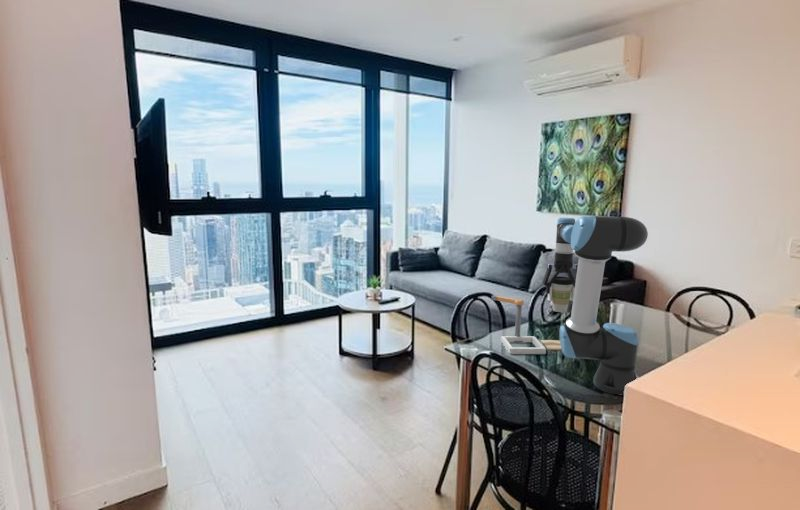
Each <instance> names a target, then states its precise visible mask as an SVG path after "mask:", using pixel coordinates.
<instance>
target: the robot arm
mask: <svg viewBox="0 0 800 510" xmlns="http://www.w3.org/2000/svg"><path fill="white" fill-rule="evenodd" d="M648 235H649V233H648V229H647V227H646V225H645V223H643V222H641V221H640V220H638V219H636V218H633V217H628V216H605V215H602V216H601V215H600V216H599V215H598V216H597V215H588V216H587V215H586V216H584V215H583V216H580V217H578V218H577V220H576V219H575V218H573V217H559V218H558V219H557V224H556V238H555V248H554V249H555V253H554V262H553V263H547V264H546V267H547V269H546V272H545V274H544V277H543V280H542V285H543V286H545V287H546V288H545V293H546V294H547V298H546V299H547V301H549V302H552V286H551V285H552V283H553V281H554V279H555V278H556V277H557V276H558V275H559V274H563V273H564V274H567V277H569V278H570V279H572V281H573V284H572V288H571V289H572V290H571V295H570V300H569V301H572V307H571V314H570V317H568V318H567V319H566V320H565V324H564V325H560V326H559V340H560V344H561V349H562V351H561V352H562V354H563V356H565V357H566V358H571V359H583V360H584V359H586V360H597V361H598V360H599V366H598V368H597V370H596V371H595V374H594V376H593V385H594V386H595V388H597V389H598V390H600V391H602V392H605V393H608V394H610V395H614V394H622V395H623V391H624V386H625V385H626V384H627V383H629V382H631V381H633V380H635V379H636V378H637V379H638V377H637V373H636V363H637V354H638V345H639V339H638V338H639V334H638V332H637V331H636V330H634V329H633V328H631V327H628V326H626V325H623V324H618V323H614V322H605V323H604V324H603V325H602V327H600V324H599V323H598V322H597V317H598V310H599V304H600V298H601V291H602V286H603V280H604V279H603V278H604V272H605V266H606V262H608V261H609V260H611V259H612V253H613V252H617V253H618V252H631V251H634V250H637V249H639V248H641V247H642V246H643V245H645V244H646V242H647V239H648V237H649V236H648ZM573 253H574V254H573ZM574 255H575V256H576V257H577V258H578V260H577V261H578V262H577V263H573V261H574V260H573V257H574ZM553 268H554V270H553ZM572 268H573V272H572V270H571V269H572ZM552 270H553V273H552ZM551 273H552V274H551ZM573 273H574V276H573Z"/></svg>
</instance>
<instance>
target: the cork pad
mask: <svg viewBox="0 0 800 510" xmlns="http://www.w3.org/2000/svg"><path fill="white" fill-rule="evenodd" d="M539 342H540V343H541V344H542V345H543V346H544V347H545V348H546V350H548V351H550V352H555V351H558V352H560V351H561V352H562V349H561V344H560V339H540V340H539Z"/></svg>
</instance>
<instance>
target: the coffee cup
mask: <svg viewBox="0 0 800 510" xmlns="http://www.w3.org/2000/svg"><path fill="white" fill-rule="evenodd" d="M572 286H573V281H572V279H570V278H569V276H561V275H559V276H558V275H557V277H556V278H555V279H554V281H553V283H552V285H551V287H552V296H551V302H552V310H553V312H557V313H567V312H568V309H569V304H570V301H571V300H570V295H571V290H572V289H571V288H572Z"/></svg>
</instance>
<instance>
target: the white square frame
mask: <svg viewBox="0 0 800 510" xmlns="http://www.w3.org/2000/svg"><path fill="white" fill-rule="evenodd" d="M522 307H523V305H515V308H516V309H515V324H514V326H515V328H514V335H502V336H500V342H501V344H502V343H503V344H502V345H503V347H504V346H505V347H504V348H505V349H506V351H507V350H508V351H507V353H508V354H509V353H510V354H509V355H547V348H546V347H545V346H544V345H543V344H542V343H541V342H540V340H539V339H537V337H536V336H531V335H530V336H529V335H527V336H526V335H523V336H522V335H521V327H522V325H521V324H522V309H523V308H522ZM510 343H532V344H533V346H534V347H531V346H530V347H527V346H526V347H524V346H523V347H522V346H521V347H517V346H515V347H513V346H512V345H511V344H510Z"/></svg>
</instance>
